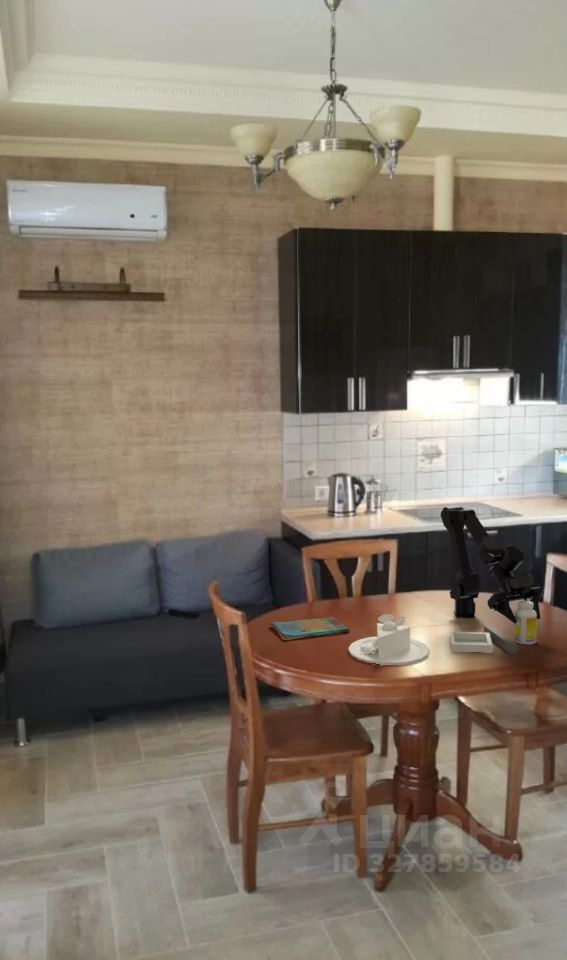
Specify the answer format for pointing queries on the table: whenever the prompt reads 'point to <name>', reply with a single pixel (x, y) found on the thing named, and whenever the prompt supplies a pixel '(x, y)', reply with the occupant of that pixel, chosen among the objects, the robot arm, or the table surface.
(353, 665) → the table surface
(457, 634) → the square cradle
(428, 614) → the table surface
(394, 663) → the dish
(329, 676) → the table surface
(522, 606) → the supplement bottle
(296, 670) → the table surface
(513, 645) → the long gray bar
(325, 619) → the dish towel
